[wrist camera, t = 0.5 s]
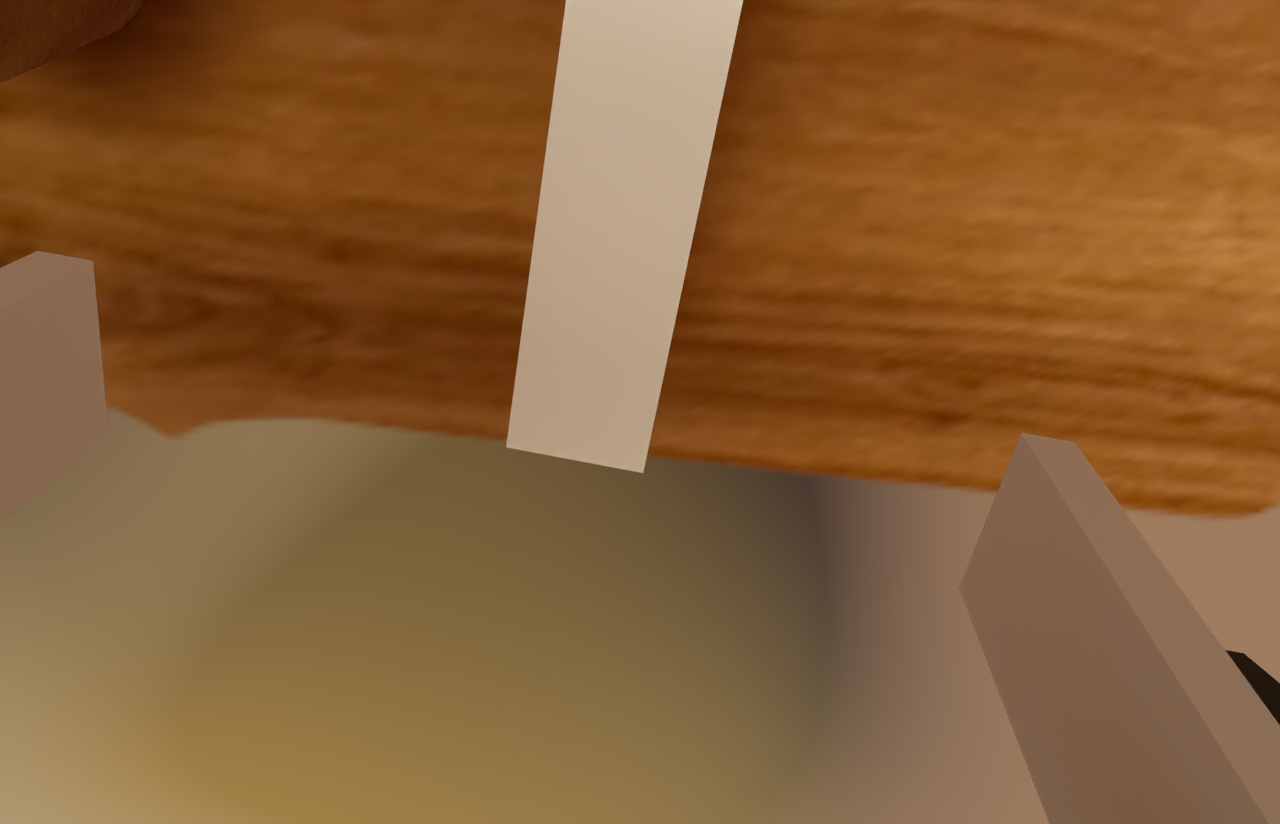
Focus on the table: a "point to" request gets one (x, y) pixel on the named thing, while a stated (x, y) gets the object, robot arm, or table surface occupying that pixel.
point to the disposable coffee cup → (55, 29)
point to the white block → (616, 221)
